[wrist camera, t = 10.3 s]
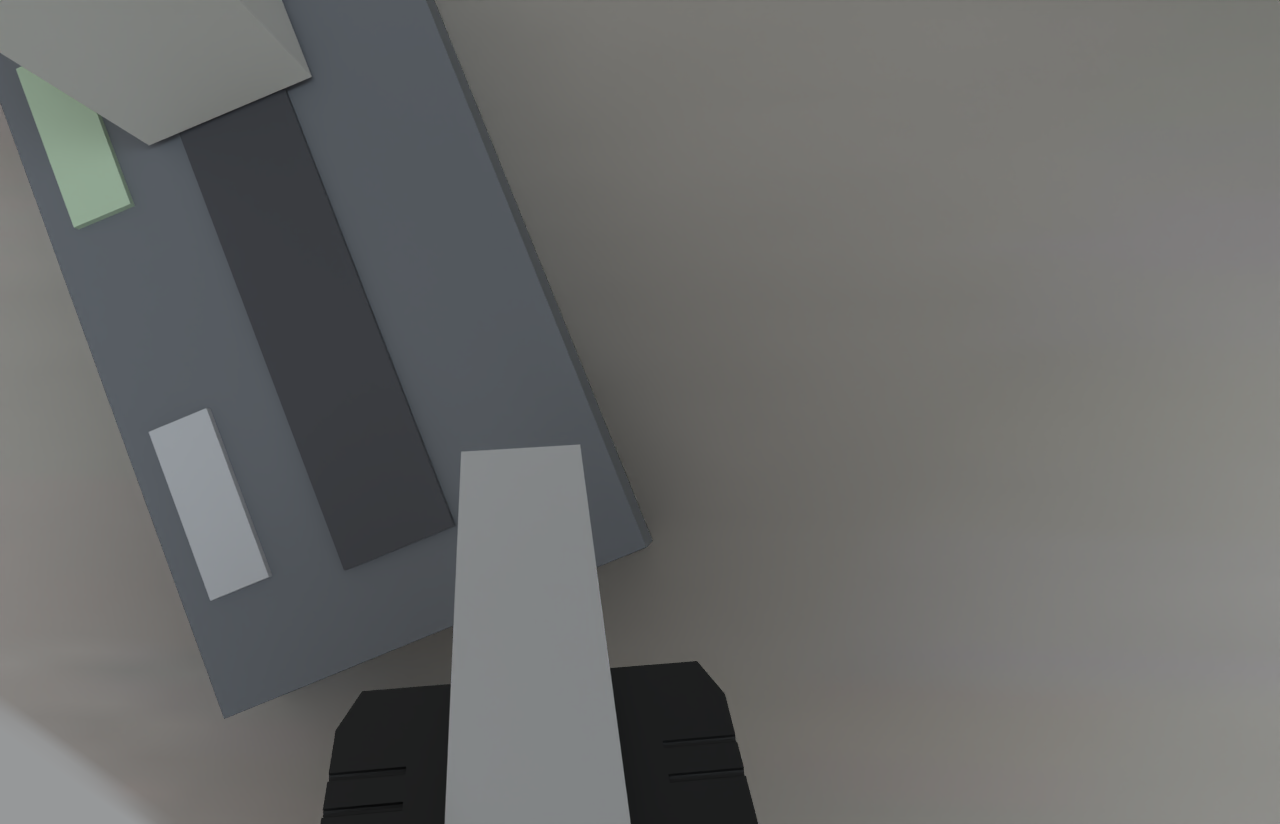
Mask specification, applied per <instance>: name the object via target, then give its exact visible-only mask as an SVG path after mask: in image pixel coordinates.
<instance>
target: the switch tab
mask: <svg viewBox="0 0 1280 824" xmlns="http://www.w3.org/2000/svg"><path fill="white" fill-rule="evenodd" d="M0 53H1V54H3V55H4V56H6V57H8V58H9V59H11V60H12V61H14V62H16V63H17V64H19V65H20V66H22V67H24V68H25V69H27V70H28V71H30V72H32V73H33V74H35V75H36V76H38V77H40V78H41V79H43V80H45V81H46V82H48V83H49V84H51V85H53V86H54V87H56V88H57V89H59V90H61V91H62V92H64V93H65V94H67V95H69V96H70V97H72V98H73V99H75V100H77V101H78V102H80V103H82V104H83V105H85V106H86V107H88V108H90V109H91V110H93V111H94V112H96V113H98V114H99V115H101V116H102V117H104V118H106V119H107V120H109V121H111V122H112V123H114V124H115V125H117V126H119V127H120V128H122V129H123V130H125V131H127V132H128V133H130V134H131V135H133V136H135V137H136V138H138V139H139V140H141V141H143V142H144V143H146V144H148V145H151V144H154V143H156V142H158V141H161V140H163V139H166V138H168V137H170V136H173V135H175V134H177V133H180V132H182V131H185V130H187V129H189V128H192V127H194V126H196V125H199V124H201V123H203V122H206V121H208V120H211V119H213V118H215V117H218V116H220V115H222V114H225V113H227V112H230V111H232V110H234V109H237V108H239V107H241V106H244V105H246V104H249V103H251V102H253V101H256V100H258V99H260V98H263V97H265V96H268V95H270V94H272V93H275V92H277V91H279V90H282V89H284V88H287V87H289V86H291V85H294V84H296V83H298V82H301V81H303V80H305V79H308V78H310V77H312V76H311V73H310V71H309V68H308V66H307V63H306V60H305V58H304V55H303V53H302V50H301V48H300V45H299V43H298V40H297V37H296V35H295V32H294V30H293V27H292V25H291V22H290V20H289V17H288V14H287V12H286V9H285V7H284V4H283V2H282V0H0Z"/></svg>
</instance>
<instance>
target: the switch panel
mask: <svg viewBox="0 0 1280 824" xmlns="http://www.w3.org/2000/svg"><path fill="white" fill-rule="evenodd" d="M282 2H283V4H284V7H285V9H286V12H287V14H288V17H289V20H290V22H291V25H292V27H293V30H294V32H295V35H296V37H297V40H298V43H299V45H300V48H301V50H302V53H303V55H304V58H305V60H306V63H307V66H308V68H309V71H310V73H311V76H312V77H310V78H308V79H305V80H303V81H301V82H298V83H296V84H294V85H291V86H289V87H287V88H284V89H282V90H279V91H277V92H275V93H272V94H270V95H268V96H265V97H263V98H260V99H258V100H256V101H253V102H251V103H249V104H246V105H244V106H241V107H239V108H237V109H234V110H232V111H230V112H227V113H225V114H222V115H220V116H218V117H215V118H213V119H211V120H208V121H206V122H203V123H201V124H199V125H196V126H194V127H192V128H189V129H187V130H185V131H182V132H180V133H177V134H175V135H173V136H170V137H168V138H166V139H163V140H161V141H158V142H156V143H154V144H151V145H148V144H146V143H144V142H143V141H141V140H139V139H138V138H136V137H135V136H133V135H131V134H130V133H128V132H127V131H125V130H123V129H122V128H120V127H119V126H117V125H115V124H114V123H112V122H111V121H109V120H107V119H106V118H104V117H102V116H101V115H99V114H98V113H96V112H94V111H93V110H91V109H90V108H88V107H86V106H85V105H83V104H82V103H80V102H78V101H77V100H75V99H73V98H72V97H70V96H69V95H67V94H65V93H64V92H62V91H61V90H59V89H57V88H56V87H54V86H53V85H51V84H49V83H48V82H46V81H45V80H43V79H41V78H40V77H38V76H36V75H35V74H33V73H32V72H30V71H28V70H27V69H25V68H24V67H22V66H20V65H19V64H17V63H16V62H14V61H12V60H11V59H9V58H8V57H6V56H4V55H3V54H1V53H0V103H1V106H2V108H3V111H4V114H5V117H6V119H7V122H8V125H9V128H10V130H11V133H12V136H13V139H14V141H15V144H16V147H17V150H18V152H19V155H20V158H21V161H22V164H23V166H24V169H25V172H26V175H27V177H28V180H29V183H30V186H31V188H32V191H33V194H34V197H35V199H36V202H37V205H38V208H39V210H40V213H41V216H42V219H43V221H44V224H45V227H46V230H47V232H48V235H49V238H50V241H51V243H52V246H53V249H54V252H55V254H56V257H57V260H58V263H59V265H60V268H61V271H62V274H63V276H64V279H65V282H66V285H67V287H68V290H69V293H70V296H71V298H72V301H73V304H74V307H75V309H76V312H77V315H78V318H79V320H80V323H81V326H82V329H83V331H84V334H85V337H86V340H87V342H88V345H89V348H90V351H91V353H92V356H93V359H94V362H95V364H96V367H97V370H98V373H99V375H100V378H101V381H102V384H103V386H104V389H105V392H106V395H107V397H108V400H109V403H110V406H111V408H112V411H113V414H114V417H115V419H116V422H117V425H118V428H119V430H120V433H121V436H122V439H123V441H124V444H125V447H126V450H127V452H128V455H129V458H130V461H131V463H132V466H133V469H134V472H135V474H136V477H137V480H138V483H139V486H140V488H141V491H142V494H143V497H144V499H145V502H146V505H147V508H148V510H149V513H150V516H151V519H152V521H153V524H154V527H155V530H156V532H157V535H158V538H159V541H160V543H161V546H162V549H163V552H164V554H165V557H166V560H167V563H168V565H169V568H170V571H171V574H172V576H173V579H174V582H175V585H176V587H177V590H178V593H179V596H180V598H181V601H182V604H183V607H184V609H185V612H186V615H187V618H188V620H189V623H190V626H191V629H192V631H193V634H194V637H195V640H196V642H197V645H198V648H199V651H200V653H201V656H202V659H203V662H204V664H205V667H206V670H207V673H208V675H209V678H210V681H211V684H212V686H213V689H214V692H215V695H216V697H217V700H218V703H219V706H220V708H221V711H222V714H223V717H224V719H225V718H227V717H230V716H232V715H235V714H237V713H240V712H242V711H245V710H247V709H250V708H252V707H254V706H257V705H259V704H262V703H264V702H267V701H269V700H272V699H274V698H277V697H279V696H282V695H284V694H286V693H289V692H291V691H294V690H296V689H299V688H301V687H304V686H306V685H309V684H311V683H314V682H316V681H318V680H321V679H323V678H326V677H328V676H331V675H333V674H336V673H338V672H341V671H343V670H345V669H348V668H350V667H353V666H355V665H358V664H360V663H363V662H365V661H368V660H370V659H373V658H375V657H377V656H380V655H382V654H385V653H387V652H390V651H392V650H395V649H397V648H400V647H402V646H404V645H407V644H409V643H412V642H414V641H417V640H419V639H422V638H424V637H427V636H429V635H432V634H434V633H436V632H439V631H441V630H444V629H446V628H449V627H451V626H453V625H454V602H455V580H456V557H457V535H458V512H459V490H460V467H461V452H464V451H480V450H497V449H513V448H530V447H547V446H563V445H580V448H581V455H582V463H583V470H584V478H585V485H586V493H587V500H588V508H589V515H590V522H591V530H592V537H593V545H594V552H595V560H596V567H599V566H601V565H604V564H606V563H609V562H611V561H614V560H616V559H618V558H621V557H623V556H626V555H628V554H631V553H633V552H636V551H638V550H641V549H643V548H646V547H647V546H648V545H649V544H650V543H651V542H652V541H653V540H652V538H651V535H650V533H649V530H648V528H647V526H646V523H645V521H644V518H643V516H642V513H641V511H640V508H639V506H638V503H637V501H636V498H635V496H634V493H633V491H632V488H631V486H630V483H629V481H628V479H627V476H626V474H625V471H624V469H623V466H622V464H621V461H620V459H619V456H618V454H617V451H616V449H615V446H614V444H613V441H612V439H611V436H610V434H609V431H608V429H607V427H606V424H605V422H604V419H603V417H602V414H601V412H600V409H599V407H598V404H597V402H596V399H595V397H594V394H593V392H592V389H591V387H590V384H589V382H588V380H587V377H586V375H585V372H584V370H583V367H582V365H581V362H580V360H579V357H578V355H577V352H576V350H575V347H574V345H573V342H572V340H571V337H570V335H569V333H568V330H567V328H566V325H565V323H564V320H563V318H562V315H561V313H560V310H559V308H558V305H557V303H556V300H555V298H554V295H553V293H552V290H551V288H550V286H549V283H548V281H547V278H546V276H545V273H544V271H543V268H542V266H541V263H540V261H539V258H538V256H537V253H536V251H535V248H534V246H533V243H532V241H531V239H530V236H529V234H528V231H527V229H526V226H525V224H524V221H523V219H522V216H521V214H520V211H519V209H518V206H517V204H516V201H515V199H514V196H513V194H512V192H511V189H510V187H509V184H508V182H507V179H506V177H505V174H504V172H503V169H502V167H501V164H500V162H499V159H498V157H497V154H496V152H495V149H494V147H493V145H492V142H491V140H490V137H489V135H488V132H487V130H486V127H485V125H484V122H483V120H482V117H481V115H480V112H479V110H478V107H477V105H476V102H475V100H474V98H473V95H472V93H471V90H470V88H469V85H468V83H467V80H466V78H465V75H464V73H463V70H462V68H461V65H460V63H459V60H458V58H457V55H456V53H455V50H454V48H453V46H452V43H451V41H450V38H449V36H448V33H447V31H446V28H445V26H444V23H443V21H442V18H441V16H440V13H439V11H438V8H437V6H436V3H435V1H434V0H282Z"/></svg>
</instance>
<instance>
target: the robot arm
mask: <svg viewBox="0 0 1280 824" xmlns="http://www.w3.org/2000/svg"><path fill="white" fill-rule="evenodd" d="M321 824H758V822H757V818H756V814H755V810H754V806H753V802H752V798H751V795H750V791H749V787H748V783H747V779H746V776H744V767H743V763H742V759H741V755H740V751H739V747H738V744H737V742H736V740H735V732H734V728H733V724H732V720H731V716H730V712H729V708H728V704H727V700H726V697H725V694H724V693H723V691H722V690H721V689H720V688H719V687H718V685H717V684H716V683H715V682H714V681H713V680H712V678H711V677H710V676H709V675H708V674H707V672H706V671H705V670H704V669H703V668H702V667H701V665H700V664H699V663H698V662H697V661H693V662H681V663H669V664H656V665H644V666H632V667H619V668H610V665H609V657H608V650H607V642H606V635H605V627H604V620H603V612H602V605H601V597H600V590H599V582H598V575H597V567H596V560H595V552H594V545H593V537H592V530H591V522H590V515H589V508H588V500H587V493H586V485H585V478H584V470H583V463H582V455H581V448H580V445H563V446H547V447H530V448H513V449H497V450H480V451H464V452H461V467H460V490H459V512H458V535H457V557H456V580H455V602H454V625H453V647H452V670H451V684H447V685H435V686H422V687H410V688H398V689H385V690H373V691H362V693H361V694H360V696H359V697H358V699H357V700H356V701H355V703H354V704H353V706H352V707H351V709H350V710H349V712H348V713H347V715H346V716H345V718H344V719H343V721H342V722H341V724H340V725H339V726H338V728H337V729H336V733H335V739H334V745H333V751H332V758H331V764H330V770H329V782H327V788H326V794H325V801H324V807H323V818H322V819H321Z"/></svg>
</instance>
